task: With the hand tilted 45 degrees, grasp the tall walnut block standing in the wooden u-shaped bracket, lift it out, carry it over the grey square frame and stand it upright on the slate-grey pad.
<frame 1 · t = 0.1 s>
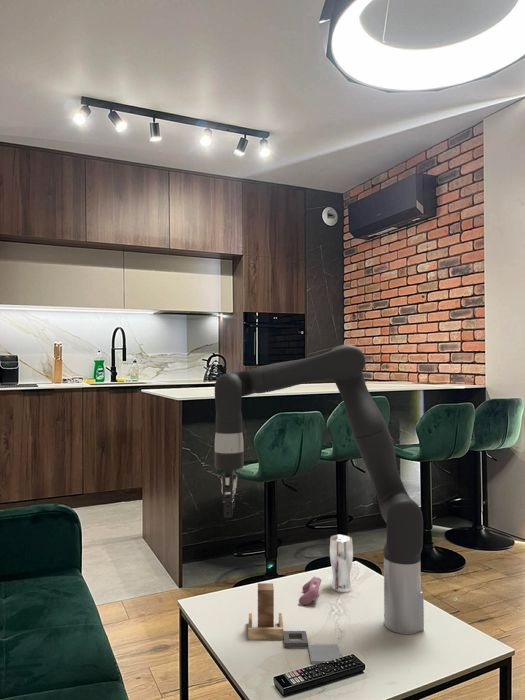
hand: (229, 512, 133), 29 cm above the table, tool pointing down, fingers open, 8 cm apart
beer glass: (341, 588, 156), on the table
wooden u-shaped bracket: (265, 630, 131), on the table
video game controller: (310, 599, 149), on the table
grey square frame: (295, 641, 125), on the table
walnut block: (265, 608, 131), in the wooden u-shaped bracket
grey pad: (324, 655, 119), on the table
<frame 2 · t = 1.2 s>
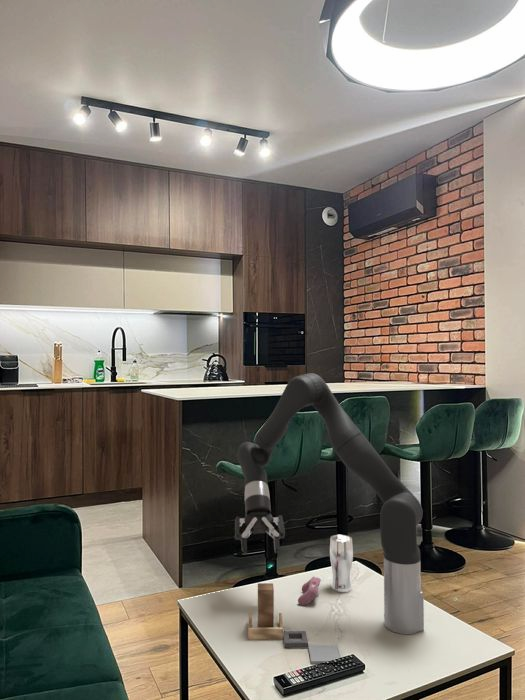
hand: (261, 552, 142), 16 cm above the table, tool tilted 45°, fingers open, 8 cm apart
nothing on the table moved.
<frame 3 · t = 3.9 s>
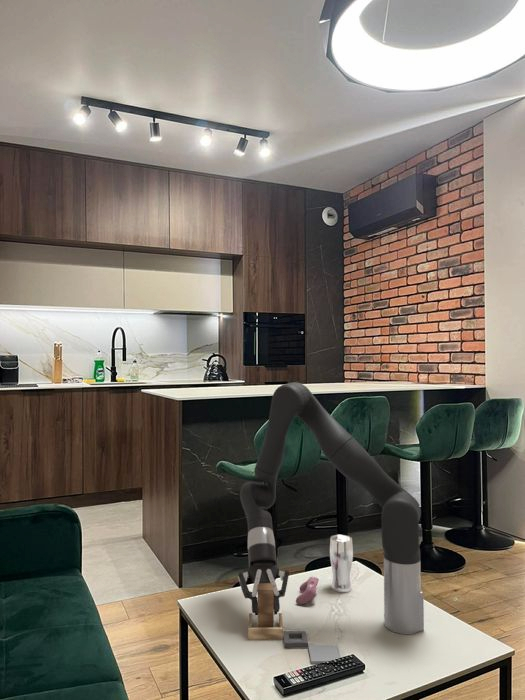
hand: (266, 613, 129), 5 cm above the table, tool tilted 45°, fingers closed on walnut block, 4 cm apart
walnut block: (265, 608, 131), in the wooden u-shaped bracket, touching gripper
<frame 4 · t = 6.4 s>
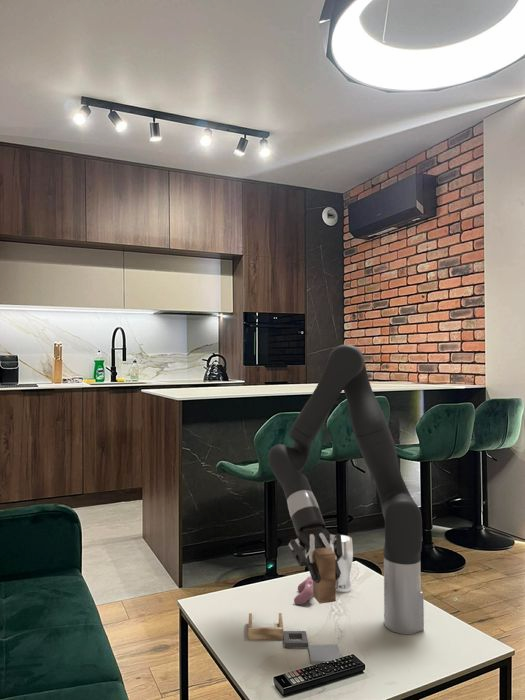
hand: (327, 579, 118), 18 cm above the table, tool tilted 45°, fingers closed on walnut block, 4 cm apart
walnut block: (324, 574, 120), point 18 cm above the table, touching gripper
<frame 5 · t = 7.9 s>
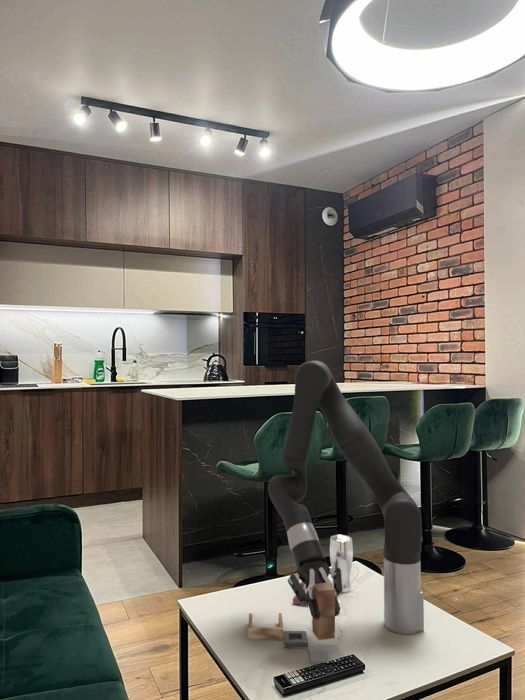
hand: (327, 616, 118), 10 cm above the table, tool tilted 45°, fingers closed on walnut block, 4 cm apart
walnut block: (323, 610, 120), point 10 cm above the table, touching gripper
when the fingers open (7 cm above the table, at t = 8.9 s): walnut block drops 1 cm, resting on grey pad.
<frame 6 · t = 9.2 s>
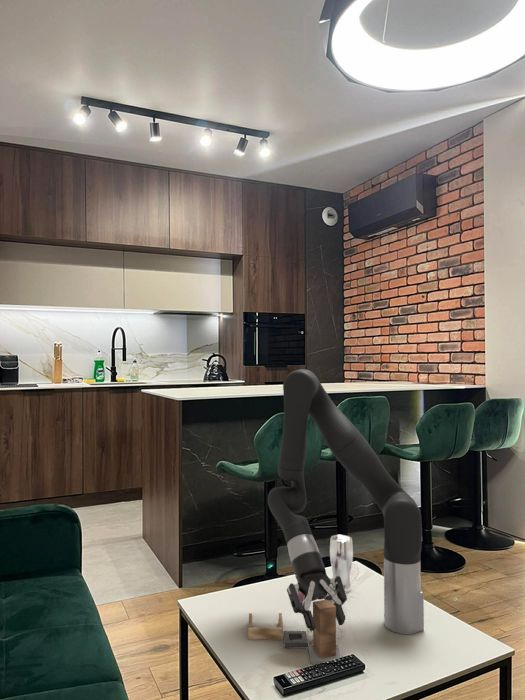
hand: (327, 626, 118), 7 cm above the table, tool tilted 45°, fingers open, 7 cm apart
walnut block: (324, 628, 120), on the grey pad, point 6 cm above the table
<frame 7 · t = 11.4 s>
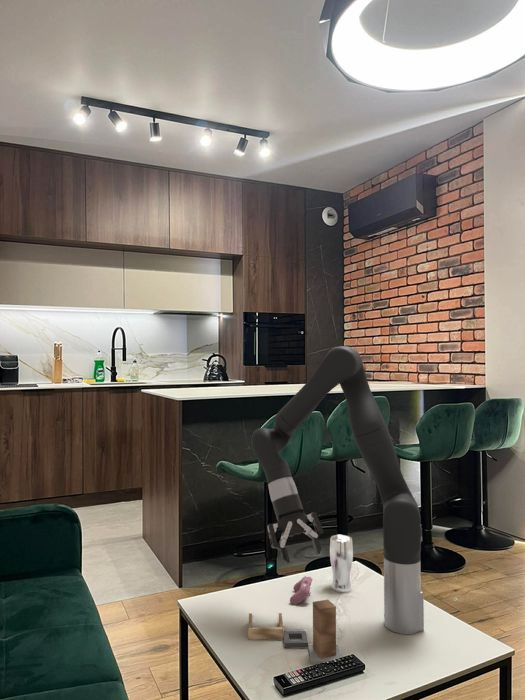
hand: (303, 558, 134), 17 cm above the table, tool tilted 30°, fingers open, 8 cm apart
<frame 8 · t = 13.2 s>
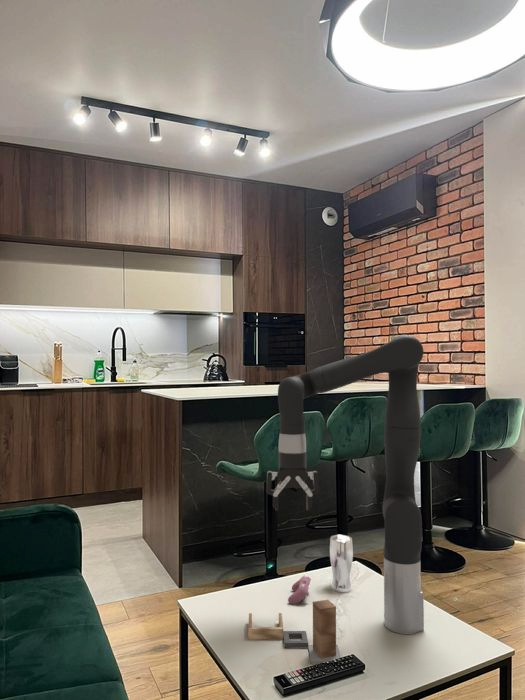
hand: (292, 509, 140), 28 cm above the table, tool pointing down, fingers open, 8 cm apart
at the end: walnut block inside the target area on the grey pad (0.1 cm from its centre), point 6.1 cm above the grey pad's base; walnut block tilted 0°; the gripper is holding nothing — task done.
